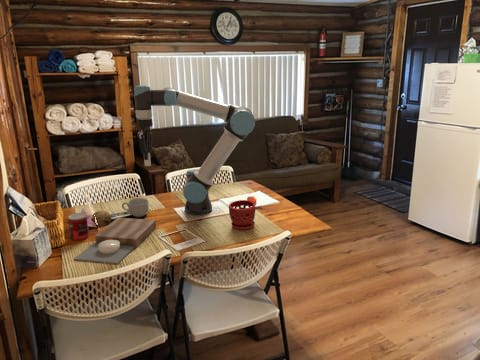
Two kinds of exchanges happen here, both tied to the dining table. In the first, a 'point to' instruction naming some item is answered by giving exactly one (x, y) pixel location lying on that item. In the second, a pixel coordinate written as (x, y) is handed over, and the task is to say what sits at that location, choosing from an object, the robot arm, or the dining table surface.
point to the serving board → (127, 231)
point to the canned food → (78, 226)
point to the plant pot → (242, 214)
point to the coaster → (109, 246)
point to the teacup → (137, 207)
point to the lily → (88, 218)
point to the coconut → (101, 218)
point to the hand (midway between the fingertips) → (147, 165)
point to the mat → (95, 256)
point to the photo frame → (184, 244)
